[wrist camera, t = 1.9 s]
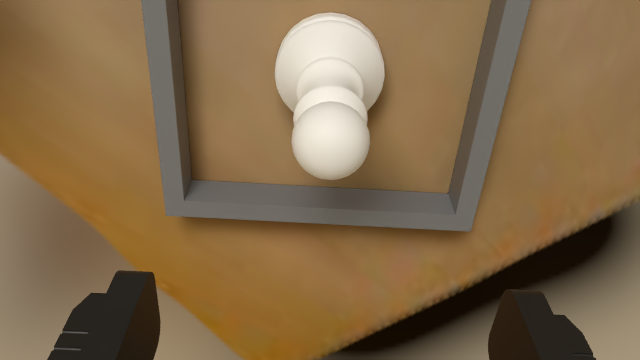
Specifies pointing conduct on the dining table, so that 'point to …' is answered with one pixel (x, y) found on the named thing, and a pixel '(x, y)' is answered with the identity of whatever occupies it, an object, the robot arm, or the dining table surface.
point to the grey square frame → (328, 201)
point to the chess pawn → (330, 91)
